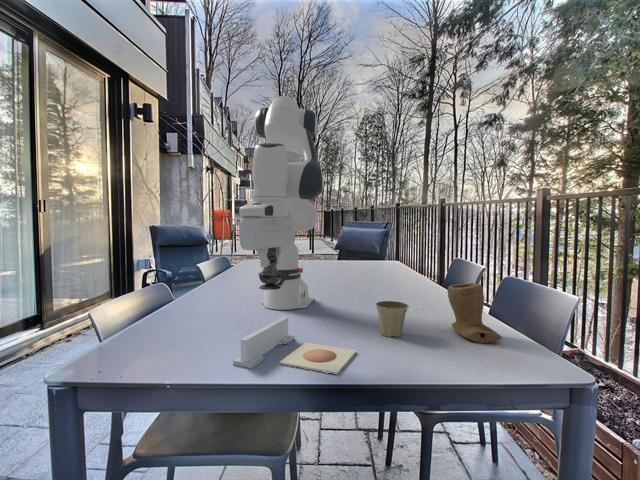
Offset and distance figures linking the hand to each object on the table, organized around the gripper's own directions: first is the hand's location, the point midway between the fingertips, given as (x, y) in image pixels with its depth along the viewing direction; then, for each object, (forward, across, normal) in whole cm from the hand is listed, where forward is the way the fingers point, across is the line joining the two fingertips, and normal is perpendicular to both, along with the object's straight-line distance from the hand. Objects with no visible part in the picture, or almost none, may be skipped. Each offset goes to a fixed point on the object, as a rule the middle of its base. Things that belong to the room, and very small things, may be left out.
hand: (270, 265), depth 90 cm
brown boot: (+22, -35, +45) cm, 61 cm away
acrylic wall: (+22, 0, -1) cm, 22 cm away
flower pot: (+22, -26, +25) cm, 42 cm away
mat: (+22, -1, +13) cm, 25 cm away
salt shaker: (+6, 0, 0) cm, 6 cm away
